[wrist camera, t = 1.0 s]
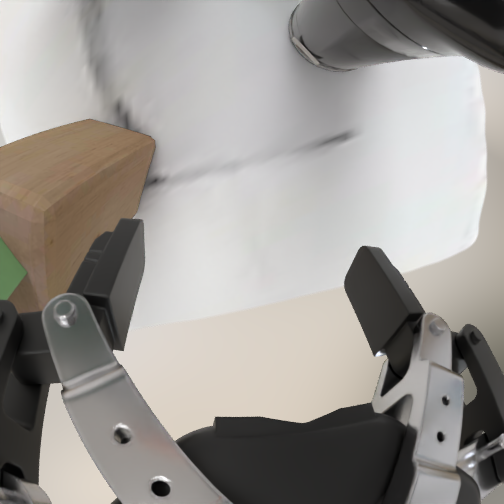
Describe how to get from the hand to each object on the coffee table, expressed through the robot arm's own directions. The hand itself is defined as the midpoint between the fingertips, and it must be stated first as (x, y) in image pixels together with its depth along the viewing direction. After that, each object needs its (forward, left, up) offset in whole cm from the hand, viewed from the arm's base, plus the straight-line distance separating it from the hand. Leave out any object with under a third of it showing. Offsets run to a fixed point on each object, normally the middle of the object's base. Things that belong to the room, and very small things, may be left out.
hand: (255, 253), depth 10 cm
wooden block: (+8, -14, -21) cm, 27 cm away
